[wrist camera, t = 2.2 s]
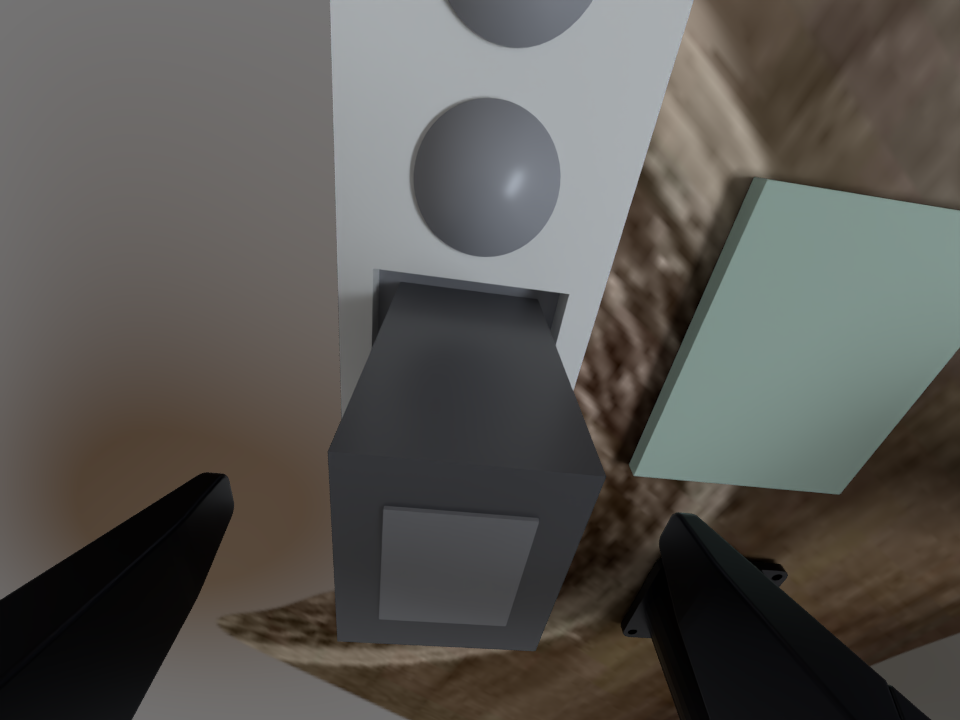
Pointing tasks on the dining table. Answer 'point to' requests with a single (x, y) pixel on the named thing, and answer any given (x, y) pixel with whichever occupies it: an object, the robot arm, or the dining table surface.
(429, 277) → the power strip
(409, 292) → the block
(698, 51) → the dining table surface
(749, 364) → the mat
